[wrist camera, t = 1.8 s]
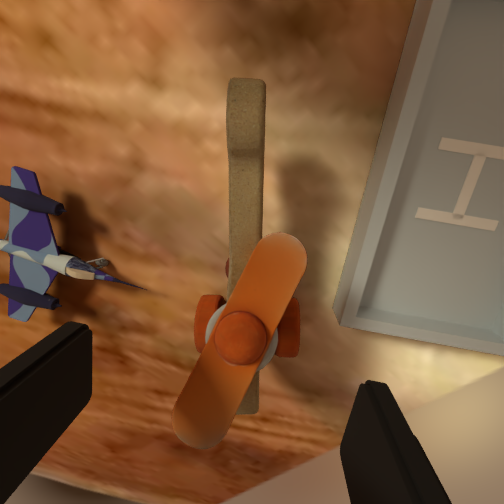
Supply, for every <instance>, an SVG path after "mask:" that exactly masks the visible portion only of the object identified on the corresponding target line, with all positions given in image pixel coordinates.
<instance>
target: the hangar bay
mask: <svg viewBox="0 0 504 504" xmlns="http://www.w3.org/2000/svg"><path fill="white" fill-rule="evenodd" d="M333 310H334V313H335V315H336V318H337V320H338V323H339V325H340V326H344V327H349V328H354V329H360V330H365V331H371V332H376V333H381V334H387V335H392V336H398V337H403V338H409V339H414V340H419V341H425V342H430V343H436V344H441V345H446V346H452V347H457V348H463V349H468V350H474V351H479V352H484V353H490V354H495V355H501V356H504V0H416V4H415V7H414V11H413V15H412V18H411V22H410V26H409V29H408V33H407V37H406V40H405V44H404V48H403V51H402V55H401V59H400V62H399V66H398V70H397V73H396V77H395V81H394V84H393V88H392V92H391V95H390V99H389V103H388V106H387V110H386V114H385V117H384V121H383V125H382V128H381V132H380V136H379V139H378V143H377V147H376V150H375V154H374V158H373V161H372V165H371V169H370V172H369V176H368V180H367V183H366V187H365V191H364V194H363V198H362V202H361V205H360V209H359V213H358V216H357V220H356V224H355V227H354V231H353V235H352V238H351V242H350V246H349V249H348V253H347V257H346V260H345V264H344V268H343V271H342V275H341V279H340V282H339V286H338V290H337V293H336V297H335V301H334V304H333Z"/></svg>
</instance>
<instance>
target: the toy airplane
mask: <svg viewBox="0 0 504 504" xmlns="http://www.w3.org/2000/svg"><path fill="white" fill-rule="evenodd" d="M0 197H2V198H3V199H5V200H7V201H9V202H10V220H9V230H8V232H7V234H6V237H5V239H4V240H3V239H0V250H2V251H5V252H8V254H9V256H10V279H9V284H4V283H3V284H0V293H1V294H2V295H4V296H6V297H8V298H9V303H8V316H9V317H11V318H14V319H17V320H20V321H24V322H27V321H28V320H29V319H30V317H31V315H32V314H33V312H34V311H35V309H36V307H40V308H46V309H51V310H54V309H56V308H57V307H62V306H61V305H60V304H59V299H57V298H55V297H53V296H51V295H48V294H46V291H47V290H48V288H49V287H50V285H51V284H52V282H53V280H54V279H55V277H56V276H57V274H58V272H59V273H61V274H64V275H66V276H69V277H74V278H78V279H88V280H94V279H99V280H107V281H113V282H119V283H123V284H127V285H130V286H134V287H138V286H135V285H132V284H129V283H126V282H123V281H120V280H118V279H116V278H114V277H112V276H110V275H108V274H106V273H104V272H102V271H101V270H99V268H103V266H107V265H108V264H109V262H108V260H106V259H104V258H99V259H95V260H91V261H88V262H85V261H83V260H81V259H80V258H78V257H76V256H74V255H73V254H70V253H68V252H66V251H64V250H62V249H61V247H60V246H57V243H56V240H55V236H54V233H53V230H52V226H51V223H50V219H49V216H48V214H53V215H57V216H59V215H61V214H62V213H63V212H67V211H66V210H65V209H64V205H63V204H62V203H59V202H57V201H55V200H53V199H51V198H48V197H46V196H44V195H42V193H41V189H40V186H39V183H38V179H37V176H36V173H35V172H33V171H30V170H27V169H23V168H20V167H17V166H14V167H12V168H11V186H4V185H0ZM8 236H9V241H7V239H8ZM94 261H96V264H97V265H98V266H100V267H97V268H95V267H93V266H92V265H90V264H88V263H90V262H94ZM138 288H141V287H138ZM141 289H143V288H141ZM145 290H146V289H145Z"/></svg>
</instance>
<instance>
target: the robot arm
mask: <svg viewBox="0 0 504 504" xmlns="http://www.w3.org/2000/svg"><path fill="white" fill-rule="evenodd" d="M91 395H92V331H91V330H90V329H89V327H88V325H86V324H82V323H77V322H72V321H70V322H67V323H65V324H64V325H62V326H61V327H60V328H58V329H57V330H55V331H54V332H52V333H51V334H49V335H48V336H47V337H45V338H44V339H42V340H41V341H39V342H38V343H37V344H35V345H34V346H32V347H31V348H29V349H28V350H26V351H25V352H24V353H22V354H21V355H19V356H18V357H16V358H15V359H14V360H12V361H11V362H9V363H8V364H6V365H5V366H3V367H2V368H1V369H0V504H4V503H5V502H6V501H7V499H8V498H9V497H10V496H11V494H12V493H13V492H14V491H15V490H16V489H17V487H18V486H19V485H20V484H21V483H22V481H23V480H24V479H25V478H26V477H27V475H28V474H29V473H30V472H31V471H32V469H33V468H34V467H35V466H36V465H37V463H38V462H39V461H40V460H41V459H42V457H43V456H44V455H45V454H46V453H47V451H48V450H49V449H50V448H51V447H52V446H53V444H54V443H55V442H56V441H57V440H58V438H59V437H60V436H61V435H62V434H63V432H64V431H65V430H66V429H67V428H68V426H69V425H70V424H71V423H72V422H73V420H74V419H75V418H76V417H77V416H78V414H79V413H80V412H81V411H82V410H83V408H84V407H85V406H86V405H87V403H88V402H89V400H90V398H91ZM340 456H341V461H342V466H343V470H344V474H345V479H346V484H347V488H348V493H349V497H350V502H351V504H452V503H451V501H450V499H449V497H448V495H447V493H446V492H445V490H444V488H443V486H442V484H441V482H440V480H439V478H438V476H437V475H436V473H435V471H434V469H433V467H432V465H431V463H430V461H429V460H428V458H427V456H426V454H425V452H424V450H423V448H422V446H421V444H420V443H419V441H418V439H417V438H416V436H415V435H413V433H412V431H411V429H410V427H409V425H408V424H407V421H406V420H405V418H404V416H403V414H402V412H401V410H400V408H399V406H398V404H397V402H396V400H395V398H394V397H393V395H392V393H391V391H390V389H389V387H388V385H387V384H385V383H381V382H376V381H371V380H367V381H366V382H365V384H363V383H362V384H360V386H359V389H358V392H357V395H356V398H355V401H354V405H353V408H352V411H351V414H350V417H349V420H348V423H347V426H346V429H345V432H344V435H343V439H342V442H341V445H340Z"/></svg>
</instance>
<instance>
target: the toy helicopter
mask: <svg viewBox="0 0 504 504" xmlns="http://www.w3.org/2000/svg"><path fill="white" fill-rule="evenodd" d="M265 110H266V84H265V82H264V81H263V80H260V79H247V78H232V79H230V81H229V84H228V91H227V109H226V129H227V148H228V159H229V258H228V260H227V262H226V275H227V277H228V288H227V303H226V304H225V300H224V298H223V297H222V296H220V295H203V296H202V297H201V299H200V301H199V303H198V306H197V310H196V315H195V323H194V340H195V346H196V349H197V351H198V352H199V353H201V355H200V357H199V359H198V361H197V363H196V365H195V367H194V369H193V371H192V373H191V374H190V376H189V378H188V381H187V382H186V384H185V386H184V388H183V390H182V392H181V394H180V396H179V397H178V399H177V401H176V404H175V406H174V408H173V412H172V426H173V429H174V431H175V433H176V435H177V437H178V438H179V439H180V440H181V441H183V442H184V443H185V444H187V445H189V446H191V447H193V448H197V449H208V448H211V447H214V446H215V445H217V444H218V443H219V442H221V441H222V439H223V438H224V437H225V435H226V433H227V431H228V429H229V427H230V425H231V423H232V421H233V419H234V416H235V414H255V413H257V412H258V409H259V370H261V369H262V368H264V367H265V366H266V365H267V364H268V363H269V362H270V360H271V359H272V357H273V355H274V353H275V355H276V356H278V357H295V356H297V354H298V351H299V345H300V310H299V303H298V301H297V299H295V298H292V296H293V294H294V292H295V290H296V288H297V286H298V284H299V282H300V280H301V278H302V276H303V274H304V272H305V270H306V267H307V253H306V250H305V248H304V246H303V244H302V243H301V242H300V241H299V240H298V239H297V238H296V237H294V236H292V235H290V234H287V233H282V232H279V233H272V234H269V235H267V236H265V237H263V238H262V221H263V180H264V148H265Z"/></svg>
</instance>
